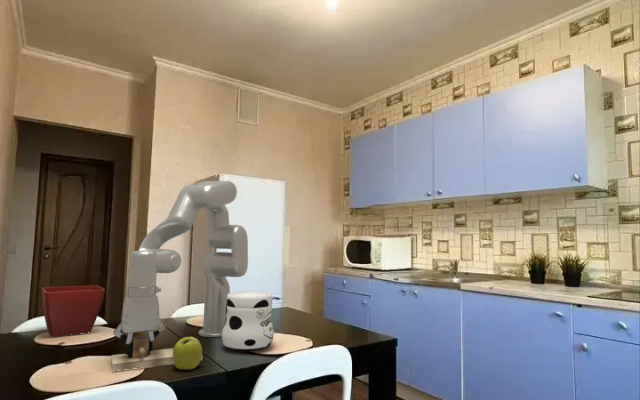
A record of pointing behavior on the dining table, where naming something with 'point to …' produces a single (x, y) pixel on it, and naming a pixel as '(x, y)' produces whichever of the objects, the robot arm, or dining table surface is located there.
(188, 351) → the apple
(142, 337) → the mallet
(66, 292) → the plant pot
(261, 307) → the milk container
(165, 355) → the board
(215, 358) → the dining table surface
